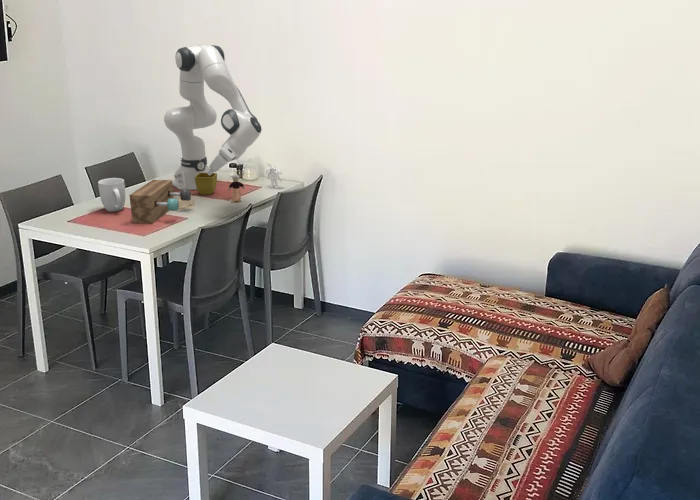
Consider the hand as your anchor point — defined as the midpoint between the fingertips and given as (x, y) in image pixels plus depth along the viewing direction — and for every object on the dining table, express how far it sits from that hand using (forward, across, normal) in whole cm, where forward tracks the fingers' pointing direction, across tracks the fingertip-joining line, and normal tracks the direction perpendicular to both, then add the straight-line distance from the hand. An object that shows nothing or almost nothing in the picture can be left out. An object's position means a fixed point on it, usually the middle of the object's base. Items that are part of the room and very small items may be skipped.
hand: (212, 171), depth 326 cm
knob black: (+20, 0, -2) cm, 20 cm away
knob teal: (+20, +15, -2) cm, 25 cm away
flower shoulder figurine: (+1, -40, +24) cm, 47 cm away
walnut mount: (+30, +8, -5) cm, 31 cm away
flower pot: (+22, -27, +4) cm, 35 cm away
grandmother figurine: (+9, -16, +16) cm, 24 cm away
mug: (+44, +4, -19) cm, 48 cm away
